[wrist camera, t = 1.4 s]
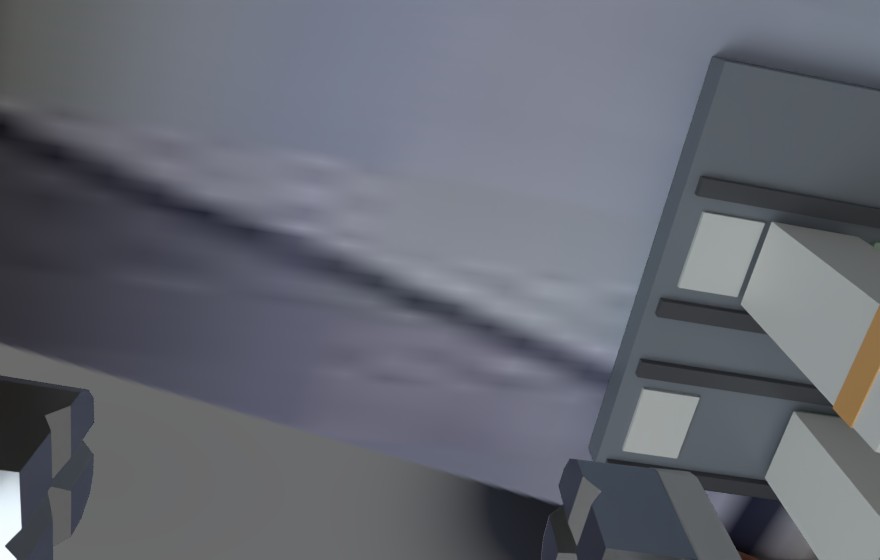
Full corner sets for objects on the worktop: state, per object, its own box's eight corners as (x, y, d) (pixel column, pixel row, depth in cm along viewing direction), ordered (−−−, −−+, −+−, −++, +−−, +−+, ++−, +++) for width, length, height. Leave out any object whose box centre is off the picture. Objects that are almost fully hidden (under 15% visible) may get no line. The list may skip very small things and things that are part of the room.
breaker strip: (712, 56, 32) (888, 120, 20) (1015, 116, 33) (1348, 209, 21) (587, 452, 40) (660, 667, 28) (836, 486, 41) (1007, 706, 29)
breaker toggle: (771, 220, 33) (928, 340, 23) (859, 235, 33) (1052, 361, 23) (739, 305, 34) (873, 453, 24) (823, 319, 35) (990, 470, 25)
